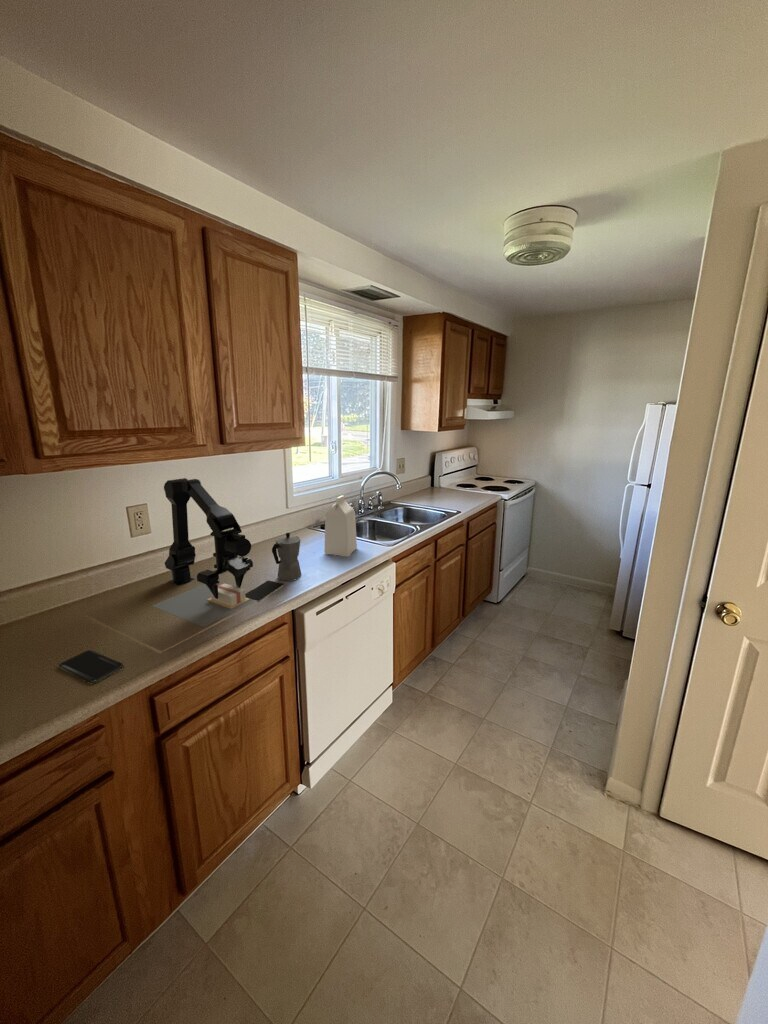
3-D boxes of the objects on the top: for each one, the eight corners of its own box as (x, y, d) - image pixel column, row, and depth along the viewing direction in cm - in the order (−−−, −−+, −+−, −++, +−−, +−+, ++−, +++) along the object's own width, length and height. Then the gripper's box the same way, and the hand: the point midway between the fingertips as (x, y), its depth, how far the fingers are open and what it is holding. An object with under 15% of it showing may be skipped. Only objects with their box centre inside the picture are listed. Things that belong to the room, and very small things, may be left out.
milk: (347, 556, 185) (347, 500, 178) (324, 554, 188) (323, 498, 182) (357, 548, 196) (357, 495, 190) (334, 545, 199) (333, 493, 193)
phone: (92, 682, 98) (56, 664, 104) (93, 686, 98) (57, 668, 104) (125, 664, 105) (89, 648, 111) (125, 668, 105) (90, 652, 111)
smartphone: (240, 596, 143) (267, 580, 157) (240, 599, 144) (267, 583, 157) (259, 600, 140) (285, 583, 154) (259, 604, 141) (285, 586, 154)
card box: (245, 599, 141) (245, 589, 140) (231, 606, 136) (230, 596, 135) (225, 592, 146) (224, 583, 145) (211, 599, 140) (210, 589, 140)
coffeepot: (291, 568, 170) (289, 526, 166) (309, 573, 166) (308, 530, 162) (264, 582, 157) (262, 537, 152) (284, 587, 153) (281, 541, 148)
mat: (151, 607, 136) (151, 604, 136) (204, 585, 153) (203, 583, 153) (204, 628, 124) (203, 626, 123) (254, 602, 140) (254, 600, 140)
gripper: (217, 563, 125) (221, 610, 128) (263, 546, 140) (265, 588, 144) (193, 556, 130) (198, 601, 134) (240, 540, 146) (243, 581, 150)
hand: (228, 593), depth 140 cm, fingers open, 9 cm apart
